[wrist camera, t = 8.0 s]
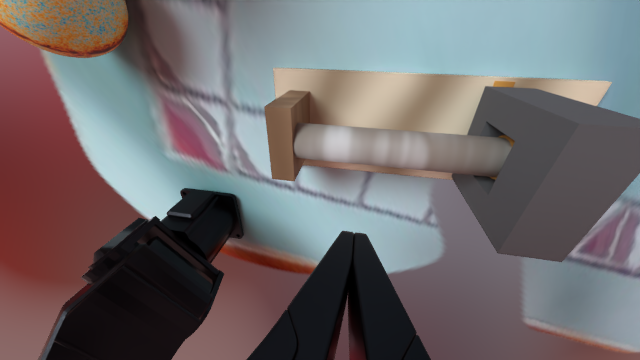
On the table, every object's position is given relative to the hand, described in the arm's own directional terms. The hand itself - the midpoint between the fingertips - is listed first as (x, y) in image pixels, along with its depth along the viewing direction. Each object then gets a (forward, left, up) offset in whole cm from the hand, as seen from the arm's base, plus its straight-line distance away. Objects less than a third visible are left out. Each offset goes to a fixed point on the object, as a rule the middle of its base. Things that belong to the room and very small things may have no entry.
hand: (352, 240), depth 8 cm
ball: (+8, +20, -13) cm, 25 cm away
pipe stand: (0, -4, -13) cm, 14 cm away
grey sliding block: (0, -9, -12) cm, 15 cm away
